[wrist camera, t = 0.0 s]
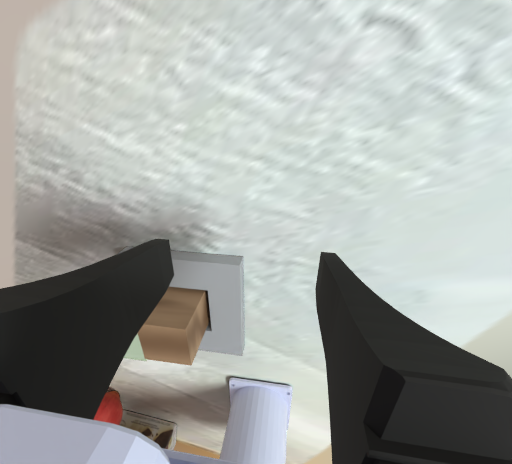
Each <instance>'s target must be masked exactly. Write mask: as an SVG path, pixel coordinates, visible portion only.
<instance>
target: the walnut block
mask: <svg viewBox="0 0 512 464" xmlns="http://www.w3.org/2000/svg"><path fill="white" fill-rule="evenodd" d="M210 319H211V318H210V308H209V298H208V290H198V289H188V288H179V287H168V289H167V291H166V293H165V294H164V296H163V297H162V299H161V300H160V301H159V303H158V304H157V306H156V307H155V309H154V310H153V312H152V313H151V314H150V316H149V317H148V319H147V320H146V322H145V323H144V324H143V326H142V327H141V329H140V330H139V332H138V336H139V340H140V343H141V347H142V350H143V354H144V358H145V359H149V360H156V361H163V362H170V363H177V364H185V365H192V363H193V360H194V358H195V356H196V353H197V351H198V348H199V346H200V343H201V341H202V338H203V336H204V333H205V331H206V328H207V326H208V324H209V321H210Z"/></svg>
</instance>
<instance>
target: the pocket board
mask: <svg viewBox="0 0 512 464" xmlns="http://www.w3.org/2000/svg"><path fill="white" fill-rule="evenodd" d="M131 248H134V247H126V248H124V249H123V250H122V251H121V252H119V253H118V254H120V253H122V252H124V251H127V250H129V249H131ZM171 257H172V263H173V269H174V277H173V279H172V281H171V283H170V285H169V287H179V288H188V289H198V290H208V298H209V308H210V318H211V320H210V321H209V324H208V326H207V328H206V331H205V333H204V336H203V338H202V341H201V343H200V346H199V348H198V350H202V351H209V352H217V353H224V354H231V355H239V356H242V354H243V350H244V345H245V337H244V278H243V257H242V256H230V255H218V254H206V253H194V252H182V251H171Z"/></svg>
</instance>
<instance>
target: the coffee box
mask: <svg viewBox="0 0 512 464" xmlns="http://www.w3.org/2000/svg"><path fill="white" fill-rule="evenodd" d="M119 426H122V427H125V428H129V429H132V430H135V431H138V432H140V433H141V434H143V435H144V436H146V437H148V438H149V439H151V440H152V441H154V442H155V443H157V444H159V446H160V447H161V448H163V449H168V450H173V449H174V447H175V444H176V424H175V423H172V422H168V421H164V420H160V419H157V418H153V417H149V416H145V415H142V414H138V413H134V412H130V411H126V410H123V415H122V420H121V422H120V425H119Z"/></svg>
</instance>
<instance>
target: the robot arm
mask: <svg viewBox="0 0 512 464" xmlns="http://www.w3.org/2000/svg"><path fill="white" fill-rule="evenodd" d="M173 277H174V269H173V263H172V257H171V251H170V245H169V240H165V239H155V240H151V241H148V242H146V243H143V244H141V245H138V246H136V247H134V248H131V249H129V250H127V251H124V252H122V253H120V254H117V255H115V256H112V257H110V258H107V259H105V260H102V261H100V262H97V263H95V264H92V265H89V266H86V267H83V268H81V269H78V270H74V271H71V272H68V273H65V274H61V275H58V276H54V277H50V278H46V279H42V280H39V281H35V282H31V283H26V284H22V285H17V286H12V287H7V288H2V289H0V464H286V438H287V430H288V424H289V416H290V407H291V399H292V387H291V386H288V385H281V384H274V383H267V382H260V381H253V380H247V379H240V378H230V380H229V391H230V406H231V409H230V413H229V418H228V422H227V427H226V431H225V436H224V441H223V445H222V450H221V454H220V459H214V458H210V457H205V456H199V455H194V454H189V453H183V452H178V451H173V450H168V449H163V448H161V447H160V446H159V444H157V443H155V442H154V441H152V440H151V439H149V438H148V437H146V436H144V435H143V434H141V433H140V432H138V431H135V430H132V429H129V428H125V427H122V426H119V425H116V424H113V423H107V422H102V421H96V420H93V419H94V417H95V415H96V413H97V410H98V408H99V406H100V404H101V402H102V400H103V398H104V395H105V393H106V391H107V389H108V387H109V385H110V383H111V381H112V379H113V377H114V375H115V373H116V371H117V369H118V367H119V365H120V363H121V361H122V359H123V358H124V356H125V354H126V352H127V350H128V349H129V347H130V345H131V343H132V341H133V340H134V338H135V336H136V335H137V333H138V332H139V330H140V329H141V327H142V326H143V324H144V323H145V322H146V320H147V319H148V317H149V316H150V314H151V313H152V312H153V310H154V309H155V307H156V306H157V304H158V303H159V301H160V300H161V299H162V297H163V296H164V294H165V293H166V291H167V289H168V287H169V285H170V283H171V281H172V279H173ZM316 306H317V314H318V319H319V325H320V331H321V336H322V342H323V347H324V353H325V360H326V369H327V382H328V395H329V410H330V427H331V446H332V464H512V379H511V377H510V376H509V375H508V374H507V373H506V371H505V370H504V369H502V368H500V367H498V366H496V365H494V364H492V363H489V362H488V361H486V360H484V359H482V358H480V357H477V356H475V355H473V354H471V353H469V352H467V351H465V350H463V349H461V348H459V347H457V346H455V345H453V344H451V343H450V342H448V341H446V340H444V339H442V338H440V337H439V336H437V335H435V334H433V333H432V332H430V331H428V330H426V329H425V328H423V327H421V326H420V325H418V324H417V323H415V322H414V321H412V320H411V319H409V318H407V317H406V316H404V315H403V314H401V313H400V312H399V311H397V310H396V309H394V308H393V307H392V306H390V305H389V304H388V303H386V302H385V301H384V300H383V299H381V298H380V297H379V296H378V295H376V294H375V293H374V292H373V291H372V290H371V289H370V288H369V287H367V286H366V285H365V284H364V283H363V282H362V281H361V280H360V279H359V278H358V277H357V276H356V275H355V274H354V273H353V272H352V271H351V270H350V269H349V268H348V267H347V266H346V264H345V263H344V262H343V261H342V260H341V259H340V258H339V257H338V256H337V255H336V254H335V253H327V252H321V256H320V263H319V269H318V276H317V283H316Z"/></svg>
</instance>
